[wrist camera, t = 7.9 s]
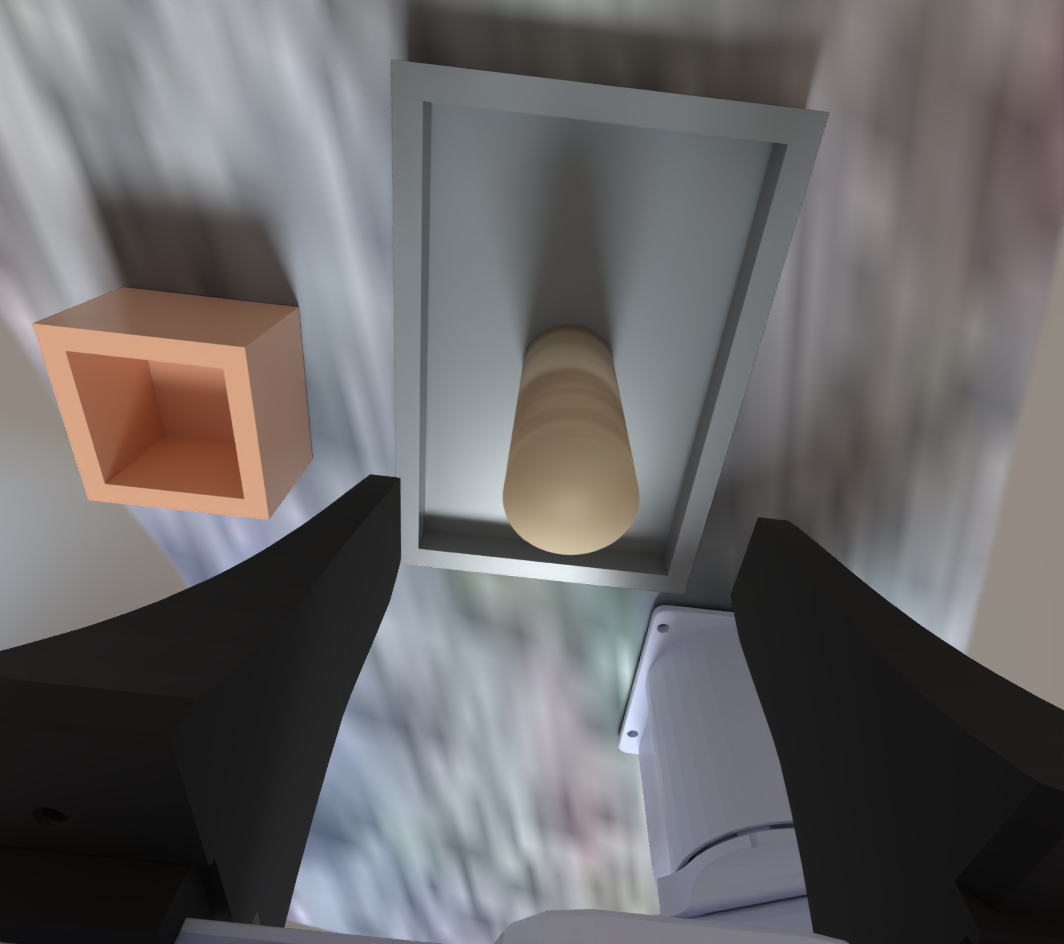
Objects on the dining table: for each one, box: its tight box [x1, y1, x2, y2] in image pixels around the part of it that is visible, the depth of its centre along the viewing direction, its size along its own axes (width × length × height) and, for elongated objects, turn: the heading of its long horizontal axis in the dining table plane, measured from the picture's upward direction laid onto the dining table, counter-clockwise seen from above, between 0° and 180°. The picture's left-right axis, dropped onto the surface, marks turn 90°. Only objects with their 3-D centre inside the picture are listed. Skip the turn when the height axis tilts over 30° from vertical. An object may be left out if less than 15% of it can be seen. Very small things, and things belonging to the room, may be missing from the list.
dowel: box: [503, 324, 640, 555], centre depth 17 cm, size 3×3×8 cm
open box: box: [32, 287, 312, 520], centre depth 20 cm, size 6×6×4 cm
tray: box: [391, 60, 829, 594], centre depth 20 cm, size 16×11×2 cm
